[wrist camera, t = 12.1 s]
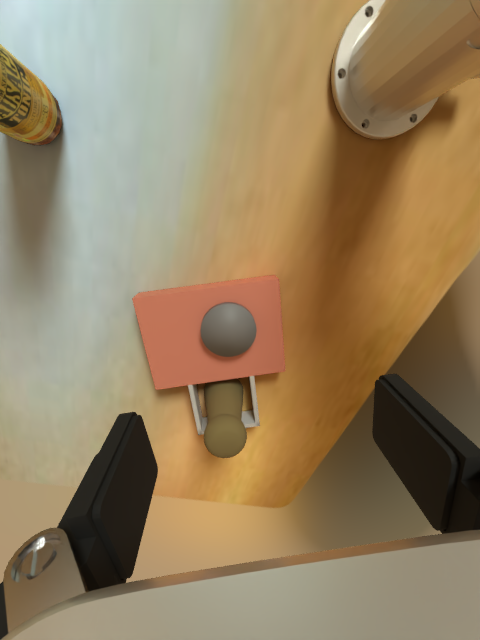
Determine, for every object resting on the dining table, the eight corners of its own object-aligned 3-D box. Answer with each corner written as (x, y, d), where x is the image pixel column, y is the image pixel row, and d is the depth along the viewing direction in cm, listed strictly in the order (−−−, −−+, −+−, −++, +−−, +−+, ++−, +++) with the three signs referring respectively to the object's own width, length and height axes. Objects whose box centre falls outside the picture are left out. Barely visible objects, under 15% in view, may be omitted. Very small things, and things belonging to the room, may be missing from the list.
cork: (206, 372, 41) (202, 423, 31) (246, 376, 42) (255, 427, 31) (201, 406, 43) (196, 465, 33) (240, 409, 44) (247, 468, 33)
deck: (274, 274, 37) (281, 281, 33) (284, 408, 44) (290, 426, 40) (138, 292, 36) (129, 301, 32) (171, 425, 44) (167, 445, 40)
